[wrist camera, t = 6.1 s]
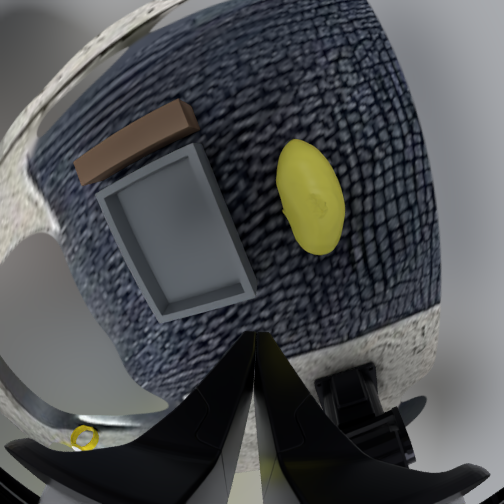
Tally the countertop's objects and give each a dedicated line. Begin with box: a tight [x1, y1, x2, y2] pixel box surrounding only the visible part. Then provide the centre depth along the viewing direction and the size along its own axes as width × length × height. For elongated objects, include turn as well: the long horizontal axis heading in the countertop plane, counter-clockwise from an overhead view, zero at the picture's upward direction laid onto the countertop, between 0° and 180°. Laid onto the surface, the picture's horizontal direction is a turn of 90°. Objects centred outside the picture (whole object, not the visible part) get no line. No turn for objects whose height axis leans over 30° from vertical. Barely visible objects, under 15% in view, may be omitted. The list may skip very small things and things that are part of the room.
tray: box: [95, 143, 257, 323], centre depth 19 cm, size 11×8×2 cm
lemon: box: [276, 139, 345, 255], centre depth 17 cm, size 4×8×4 cm, turn 13°
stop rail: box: [73, 99, 200, 186], centre depth 17 cm, size 2×9×3 cm, turn 110°
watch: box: [71, 425, 99, 451], centre depth 32 cm, size 6×3×6 cm, turn 104°
